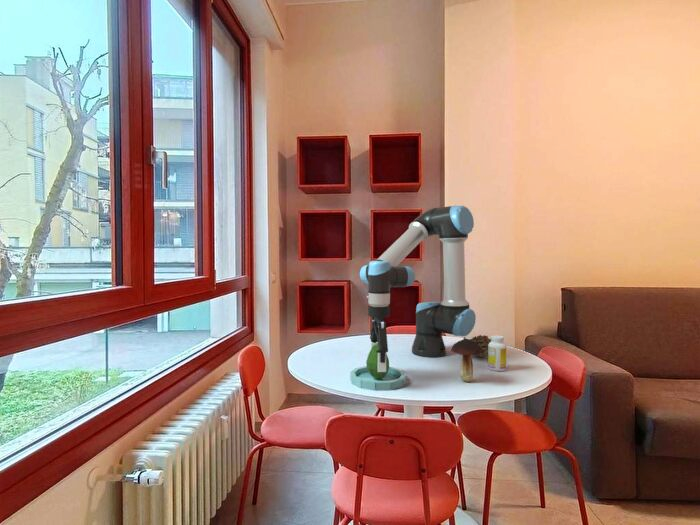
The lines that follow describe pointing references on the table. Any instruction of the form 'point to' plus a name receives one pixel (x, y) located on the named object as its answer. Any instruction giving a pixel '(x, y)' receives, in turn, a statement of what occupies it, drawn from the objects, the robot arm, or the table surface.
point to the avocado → (376, 363)
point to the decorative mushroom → (466, 356)
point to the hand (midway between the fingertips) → (378, 365)
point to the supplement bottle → (497, 354)
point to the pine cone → (482, 344)
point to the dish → (389, 382)
